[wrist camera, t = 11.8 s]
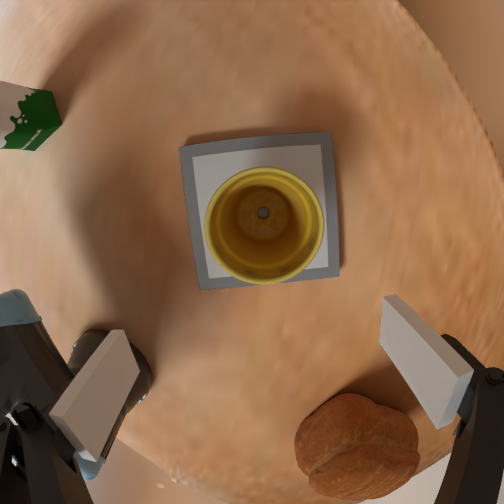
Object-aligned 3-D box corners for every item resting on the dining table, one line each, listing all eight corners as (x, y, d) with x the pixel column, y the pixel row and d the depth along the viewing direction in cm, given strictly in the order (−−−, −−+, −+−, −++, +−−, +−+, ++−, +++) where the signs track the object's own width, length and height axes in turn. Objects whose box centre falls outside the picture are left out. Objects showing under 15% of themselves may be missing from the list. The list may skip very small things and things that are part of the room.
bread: (345, 378, 42) (375, 456, 26) (412, 408, 45) (443, 465, 29) (282, 434, 46) (288, 506, 30) (355, 455, 49) (371, 511, 33)
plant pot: (229, 159, 32) (218, 153, 22) (315, 181, 32) (339, 185, 23) (210, 244, 34) (193, 271, 25) (292, 263, 35) (305, 297, 25)
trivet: (201, 285, 37) (199, 290, 36) (182, 148, 33) (178, 147, 31) (336, 272, 37) (339, 276, 35) (327, 133, 32) (331, 131, 30)
